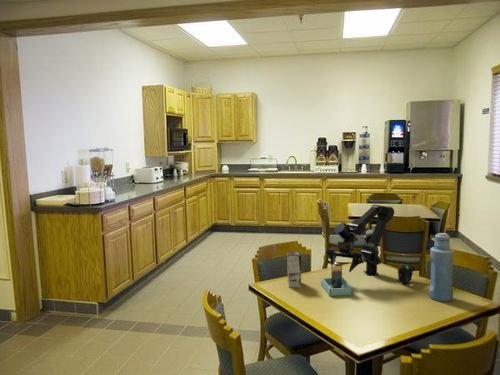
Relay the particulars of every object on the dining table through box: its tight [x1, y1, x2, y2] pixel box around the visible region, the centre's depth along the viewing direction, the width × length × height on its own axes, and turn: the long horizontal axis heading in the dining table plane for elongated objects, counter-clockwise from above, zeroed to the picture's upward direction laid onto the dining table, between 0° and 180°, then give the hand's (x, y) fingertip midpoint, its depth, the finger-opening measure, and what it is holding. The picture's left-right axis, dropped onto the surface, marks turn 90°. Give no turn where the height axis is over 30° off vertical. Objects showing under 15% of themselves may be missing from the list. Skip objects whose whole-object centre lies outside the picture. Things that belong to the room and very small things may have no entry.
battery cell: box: [330, 261, 343, 289], centre depth 193 cm, size 5×5×13 cm
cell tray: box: [320, 276, 354, 297], centre depth 193 cm, size 16×11×4 cm
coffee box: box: [286, 250, 302, 288], centre depth 201 cm, size 9×6×16 cm
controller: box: [397, 264, 416, 285], centre depth 202 cm, size 4×12×10 cm, turn 132°
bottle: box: [428, 232, 455, 303], centre depth 180 cm, size 10×10×30 cm
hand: (340, 270), depth 197 cm, fingers open, 9 cm apart
